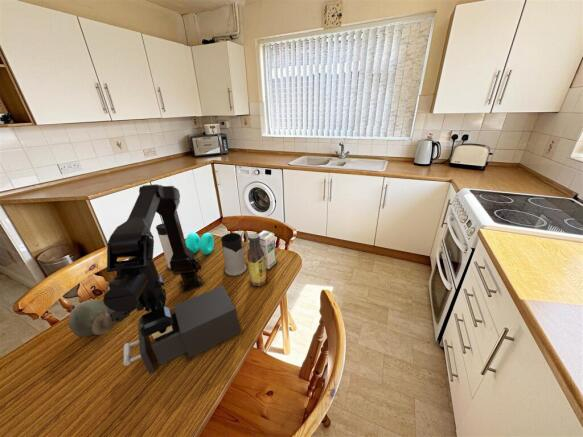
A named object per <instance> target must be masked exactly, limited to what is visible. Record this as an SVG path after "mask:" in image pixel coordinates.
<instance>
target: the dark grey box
mask: <svg viewBox="0 0 583 437" xmlns="http://www.w3.org/2000/svg"><path fill="white" fill-rule="evenodd" d="M173 309H174V311H175V313H176V317H177V321H178V325H179V329H180V333H181V336H182V339H183V342H184V345H185V348H186V351H187V352H186V354H187V358H188V359H191V358H193V357H195V356H197V355H199V354H201V353H203V352H204V351H207V350H209V349H211V348H213V347H215V346H217V345H219V344H221V343H222V342H225V341H227V340H228V339H230V338H232V337H235V336H236V335H238V334H240V333H241V330H240V325H239V324H240V323H239V318H238V313H237V308H236V306H235V305H234V303H233V301H232V299H231V297H230V296H229V294H228V292H227V290H226V289H225V287H224V286H223V285H221V286H218V287H215V288H213V289H211V290H209V291H206V292H203V293H201V294H198V295H196V296H193V297H191V298H188V299H185V300H183V301H181V302H178V303H176V304H174V305H173Z"/></svg>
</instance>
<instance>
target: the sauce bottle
mask: <svg viewBox="0 0 583 437" xmlns="http://www.w3.org/2000/svg"><path fill="white" fill-rule="evenodd" d="M259 239H260V236H259V233H255V232H253V233H250V234H248V246H249V248H247V249H248V250H247V252H246V253H247V254H246V255H247V266H248V267H247V268H248V274H249V280H250V283H251V285H252V286H255V287H260V286H263V285H264V284H266V282H267V268H266V267H265V256H264V252H263V250H262V248H261V246H260V240H259Z"/></svg>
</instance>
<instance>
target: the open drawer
mask: <svg viewBox="0 0 583 437" xmlns="http://www.w3.org/2000/svg"><path fill="white" fill-rule="evenodd" d="M171 316H172V320H173V324H172V329H173V331H171V332H169V333H166V334H164V335H162V336H160V337H157V338H155V339H154V340H155V342H153V343H152V340H151V338H150V335H149V336H147V337H143V336H142V334H141V332H140V325H139V323H137V328H138V329H137V331H138V339H137V340H134V341H132V342H126V343H125V344H124V345H123V366H124V367H128V366H130V365H131V363H133V362H135V361H136V360H139V359H142V362H143V363H144V366H145V368H146V371H147V372H148V374H149V375H151V374H153V373H155V362H154V355H155V359H156V361H157V363H158V365H159V366H162V365H164V364H166V363H169V362H170V361H172V360H174V359H176V358H178V357H180V356H182V355H184V354H187V351H186V348H185V345H184V342H183V339H182V336H181V333H180V329H179V325H178V321H177V317H176V313H175V310H174V311H172V312H171ZM136 345H138V346H139V347H138V348H139V354H137V355H135V356H133V357H132V356H131V347H133V346H136ZM153 353H154V355H153Z"/></svg>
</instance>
